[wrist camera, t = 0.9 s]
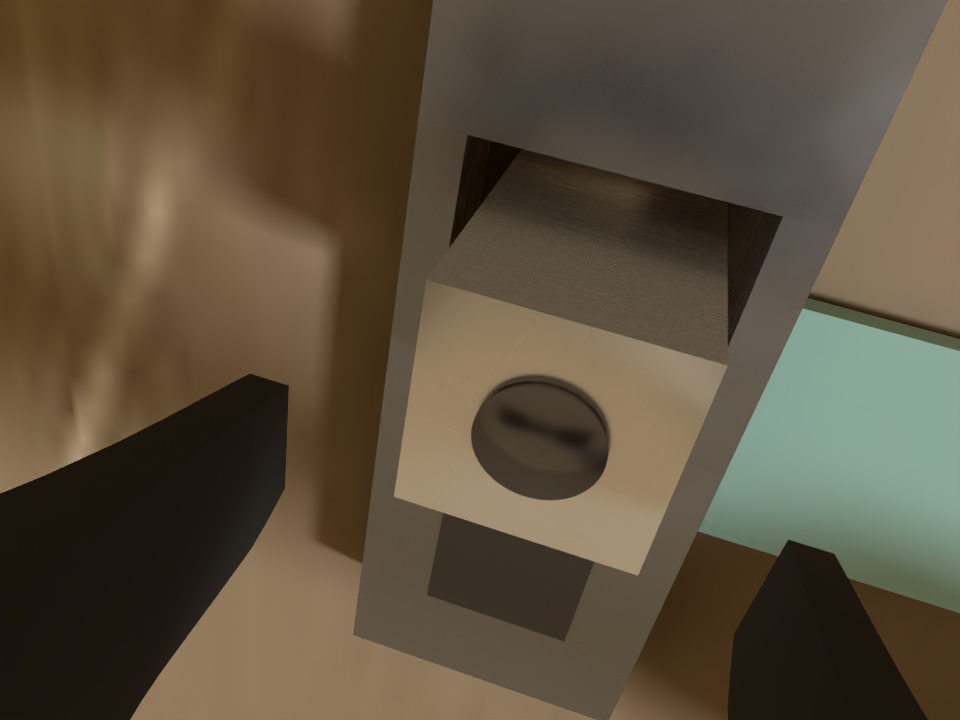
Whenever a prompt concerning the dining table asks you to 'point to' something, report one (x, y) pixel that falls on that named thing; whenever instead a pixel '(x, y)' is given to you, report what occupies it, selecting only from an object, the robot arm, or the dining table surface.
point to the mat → (855, 454)
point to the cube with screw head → (568, 358)
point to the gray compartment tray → (650, 157)
